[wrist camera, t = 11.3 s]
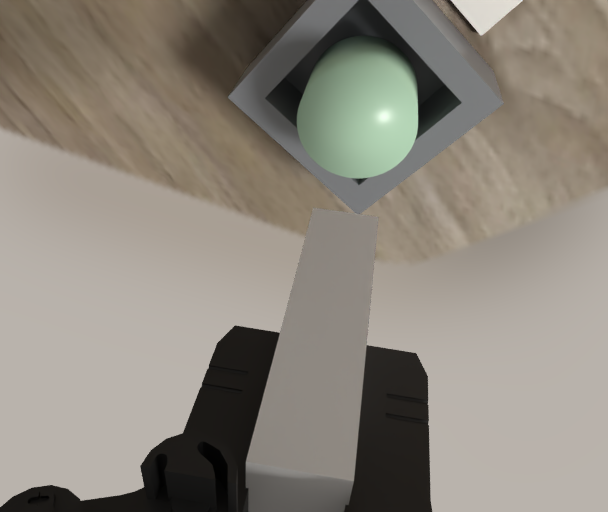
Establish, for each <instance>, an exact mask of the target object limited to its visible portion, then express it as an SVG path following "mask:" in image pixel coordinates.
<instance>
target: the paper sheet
mask: <svg viewBox="0 0 608 512" xmlns="http://www.w3.org/2000/svg"><path fill="white" fill-rule="evenodd" d="M451 1H452V2H453V4H454V5H455V6H456V7H457V8H458V9H459V11H460V12H461V13H462V14H463V15H464V16H465V18H466V19H467V20H468V21H469V22H470V24H471V25H472V26H473V27H474V28H475V29H476V31H477V32H478V33H479V34H480V35H481V36H482V35H483V34H484V33H485V32H487V31H488V30H489V29H490V28H491V27H492V26H493V25H495V24H496V23H497V22H498V21H499V20H500V19H502V18H503V17H504V16H505V15H506V14H507V13H509V12H510V11H511V10H512V9H513V8H514V7H516V6H517V5H518V4H519V3H520V2H521V1H523V0H451Z"/></svg>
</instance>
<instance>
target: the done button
mask: <svg viewBox="0 0 608 512" xmlns="http://www.w3.org/2000/svg"><path fill="white" fill-rule="evenodd" d="M297 130H298V134H299V138H300V141H301V143H302V145H303V147H304V149H305V151H306V152H307V153H308V155H309V156H310V157H311V158H312V159H313V160H314V161H315V162H316V163H317V164H318V165H319V166H321V167H322V168H324V169H325V170H327V171H329V172H331V173H333V174H336V175H339V176H343V177H347V178H369V177H374V176H377V175H380V174H383V173H385V172H387V171H389V170H391V169H392V168H394V167H395V166H397V165H398V164H399V163H400V162H401V161H402V160H403V159H404V158H405V157H406V156H407V154H408V153H409V151H410V150H411V148H412V146H413V144H414V142H415V139H416V135H417V130H418V88H417V78H416V74H415V71H414V68H413V66H412V64H411V62H410V60H409V59H408V57H407V56H406V55H405V54H404V53H403V52H402V51H401V50H400V49H399V48H398V47H397V46H395V45H394V44H392V43H390V42H388V41H387V40H384V39H381V38H378V37H373V36H354V37H349V38H346V39H343V40H341V41H339V42H337V43H335V44H334V45H332V46H331V47H329V48H328V49H327V50H326V51H325V52H324V53H323V54H322V55H321V56H320V58H319V59H318V61H317V62H316V64H315V66H314V68H313V71H312V73H311V76H310V78H309V81H308V84H307V86H306V89H305V91H304V94H303V96H302V99H301V102H300V105H299V108H298V113H297Z"/></svg>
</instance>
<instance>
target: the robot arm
mask: <svg viewBox="0 0 608 512" xmlns="http://www.w3.org/2000/svg"><path fill="white" fill-rule="evenodd" d="M377 228H378V217H376V216H369V215H362V214H355V213H348V212H341V211H334V210H327V209H320V208H313V211H312V214H311V218H310V222H309V226H308V230H307V233H306V237H305V241H304V245H303V249H302V252H301V256H300V260H299V263H298V267H297V271H296V275H295V278H294V283H293V286H292V290H291V293H290V297H289V301H288V305H287V309H286V312H285V316H284V320H283V324H282V328H281V331H280V333H277V332H271V331H265V330H259V329H253V328H246V327H240V326H234V327H233V328H232V329H231V330H230V331H229V332H228V333H227V334H226V335H225V336H224V337H223V338H222V339H221V340H220V341H219V342H218V343H217V346H216V348H215V351H214V353H213V356H212V359H211V361H210V364H209V369H208V370H207V372H206V374H205V377H204V380H203V382H202V387H201V388H200V390H199V393H198V395H197V398H196V401H195V403H194V406H193V409H192V412H191V414H190V416H189V419H188V422H187V424H186V427H185V430H184V432H183V434H180V435H177V436H174V437H171V438H168V439H166V440H164V441H163V442H162V443H160V444H159V445H158V446H156V447H155V448H154V449H152V450H151V451H150V452H149V454H148V455H147V457H146V458H145V460H144V462H143V463H142V465H141V472H142V477H143V482H144V488H142V489H140V490H138V491H135V492H132V493H128V494H124V495H120V496H113V497H105V498H98V499H91V500H84V501H80V499H79V498H78V497H77V496H75V495H74V494H73V493H72V492H71V491H69V490H68V489H65V488H60V487H57V486H53V485H50V486H42V487H34V488H31V489H28V490H26V491H24V492H22V493H20V494H18V495H16V496H14V497H12V498H11V499H10V500H8V501H7V502H6V503H5V504H4V505H3V506H1V507H0V512H432V508H431V501H430V465H429V464H430V461H429V425H428V421H429V419H428V418H429V417H428V376H427V374H426V372H425V370H424V368H423V366H422V364H421V362H420V360H419V358H418V356H417V354H416V353H411V352H405V351H399V350H393V349H386V348H380V347H374V346H368V345H367V335H368V324H369V313H370V303H371V291H372V281H373V270H374V260H375V249H376V239H377Z"/></svg>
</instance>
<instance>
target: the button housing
mask: <svg viewBox="0 0 608 512" xmlns="http://www.w3.org/2000/svg"><path fill="white" fill-rule="evenodd" d="M354 36H373V37H378V38H381V39H384V40H387V41H388V42H390V43H392V44H394V45H395V46H397V47H398V48H399V49H400V50H401V51H402V52H403V53H404V54H405V55H406V56H407V57H408V59H409V60H410V62H411V64H412V66H413V68H414V71H415V74H416V78H417V88H418V130H417V135H416V139H415V142H414V144H413V146H412V148H411V150H410V151H409V153H408V154H407V156H406V157H405V158H404V159H403V160H402V161H401V162H400V163H399V164H398V165H397V166H395V167H394V168H392V169H391V170H389V171H387V172H385V173H383V174H380V175H377V176H374V177H369V178H347V177H343V176H339V175H336V174H333V173H331V172H329V171H327V170H325V169H324V168H322V167H321V166H319V165H318V164H317V163H316V162H315V161H314V160H313V159H312V158H311V157H310V156H309V155H308V153H307V152H306V151H305V149H304V147H303V145H302V143H301V141H300V138H299V134H298V130H297V113H298V108H299V105H300V102H301V99H302V96H303V94H304V91H305V89H306V86H307V84H308V81H309V78H310V76H311V73H312V71H313V68H314V66H315V64H316V62H317V61H318V59H319V58H320V56H321V55H322V54H323V53H324V52H325V51H326V50H327V49H328V48H329V47H331V46H332V45H334V44H335V43H337V42H339V41H341V40H343V39H346V38H349V37H354ZM228 98H229V99H230V100H231V101H232V102H233V103H234V104H235V105H237V106H238V107H239V108H240V109H241V110H242V111H243V112H244V113H245V114H247V115H248V116H249V117H250V118H251V119H252V120H253V121H254V122H255V123H257V124H258V125H259V126H260V127H261V128H262V129H263V130H264V131H265V132H266V133H268V134H269V135H270V136H271V137H272V138H273V139H274V140H275V141H276V142H278V143H279V144H280V145H281V146H282V147H283V148H284V149H285V150H286V151H287V152H289V153H290V154H291V155H292V156H293V157H294V158H295V159H296V160H297V161H299V162H300V163H301V164H302V165H303V166H304V167H305V168H306V169H307V170H309V171H310V172H311V173H312V174H313V175H314V176H315V177H316V178H317V179H318V180H320V181H321V182H322V183H323V184H324V185H325V186H326V187H327V188H328V189H330V190H331V191H332V192H333V193H334V194H335V195H336V196H337V197H338V198H339V199H341V200H342V201H343V202H344V203H345V204H346V205H347V206H348V207H349V208H351V209H352V210H353V211H354V212H355V213H356V214H360V213H362V212H363V211H364V210H366V209H367V208H368V207H370V206H371V205H372V204H374V203H375V202H376V201H377V200H379V199H380V198H381V197H383V196H384V195H385V194H387V193H388V192H389V191H390V190H392V189H393V188H394V187H396V186H397V185H398V184H400V183H401V182H402V181H404V180H405V179H406V178H407V177H409V176H410V175H411V174H413V173H414V172H415V171H417V170H418V169H419V168H421V167H422V166H423V165H424V164H426V163H427V162H428V161H430V160H431V159H432V158H434V157H435V156H436V155H438V154H439V153H440V152H441V151H443V150H444V149H445V148H447V147H448V146H449V145H451V144H452V143H453V142H454V141H456V140H457V139H458V138H460V137H461V136H462V135H464V134H465V133H466V132H468V131H469V130H470V129H471V128H473V127H474V126H475V125H477V124H478V123H479V122H481V121H482V120H483V119H485V118H486V117H487V116H488V115H490V114H491V113H492V112H494V111H495V110H496V109H498V108H499V107H500V106H502V105H503V104H504V103H503V100H502V96H501V93H500V90H499V87H498V84H497V80H496V77H495V74H494V71H493V70H492V69H491V68H490V66H489V65H488V64H487V63H486V62H485V61H484V59H483V58H482V57H481V56H480V55H479V54H478V52H477V51H476V50H475V49H474V48H473V47H472V46H471V44H470V43H469V42H468V41H467V40H466V39H465V37H464V36H463V35H462V34H461V33H460V32H459V30H458V29H457V28H456V27H455V26H454V25H453V24H452V22H451V21H450V20H449V19H448V18H447V17H446V15H445V14H444V13H443V12H442V11H441V10H440V8H439V7H438V6H437V5H436V4H435V3H434V1H433V0H307V1H306V2H305V3H304V4H303V5H302V6H301V8H300V9H299V10H298V11H297V12H296V13H295V14H294V15H293V17H292V18H291V19H290V20H289V21H288V22H287V23H286V24H285V25H284V27H283V28H282V29H281V30H280V31H279V32H278V33H277V34H276V36H275V37H274V38H273V39H272V40H271V41H270V42H269V43H268V45H267V46H266V47H265V48H264V49H263V50H262V51H261V52H260V54H259V55H258V56H257V57H256V58H255V59H254V60H253V61H252V62H251V64H250V65H249V66H248V67H247V68H246V70H245V71H244V73H243V74H242V76H241V78H240V79H239V81H238V82H237V84H236V85H235V87H234V88H233V90H232V91H231V93H230V94H229V96H228Z"/></svg>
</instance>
